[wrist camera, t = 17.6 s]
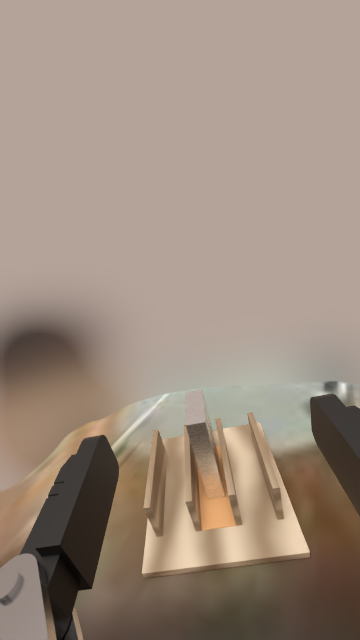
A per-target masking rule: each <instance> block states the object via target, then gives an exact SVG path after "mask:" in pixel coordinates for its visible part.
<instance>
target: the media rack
mask: <svg viewBox="0 0 360 640" xmlns="http://www.w3.org/2000/svg"><path fill="white" fill-rule="evenodd" d="M247 414H248V419H249V424H248V425H242V426H236V427H231V428H225V429H223V428H222V424H221V419H220V418H219V419H215V420H216V426H217V430H214V431H213V435H214V439H215V443H216V447H217V451H218V455H219V459H220V465H221V472H222V479H223V486H224V493H225V497H223V498H215V499H208V497H207V494H206V491H205V487H204V484H203V481H202V477H201V474H200V471H199V468H198V464H197V461H196V458H195V454H194V451H193V448H192V445H191V441H190V438H189V435H188V431H187V428H186V425H184V436H180V437H175V438H169V439H163V440H162V439H161V436H160V433H159V431H158V430H153V438H152V446H151V454H150V462H149V470H148V477H147V485H146V493H145V501H144V510H145V513H146V515H147V517H148V523H147V532H146V541H145V550H144V559H143V569H142V575H143V577H144V578H150V577H158V576H166V575H174V574H182V573H190V572H198V571H206V570H214V569H221V568H229V567H237V566H245V565H253V564H261V563H269V562H277V561H285V560H293V559H301V558H308V557H310V552H309V549H308V546H307V544H306V541H305V539H304V536H303V533H302V531H301V528H300V526H299V523H298V520H297V518H296V515H295V513H294V510H293V507H292V505H291V502H290V500H289V497H288V494H287V492H286V489H285V487H284V484H283V481H282V479H281V476H280V474H279V471H278V468H277V466H276V463H275V460H274V458H273V455H272V453H271V450H270V447H269V445H268V442H267V440H266V437H265V434H264V432H263V429H262V427H261V424H260V422H259V423H256V421H255V418H254V415H253V413H247Z"/></svg>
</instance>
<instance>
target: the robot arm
mask: <svg viewBox="0 0 360 640" xmlns="http://www.w3.org/2000/svg"><path fill="white" fill-rule="evenodd" d="M310 407H311V426H312V432H313V436H314V438H315V441H316V443H317V445H318V447H319V449H320V450H321V452H322V454H323V455H324V457H325V459H326V460H327V462H328V464H329V465H330V467H331V469H332V470H333V472H334V474H335V475H336V477H337V479H338V480H339V482H340V484H341V485H342V487H343V489H344V490H345V492H346V494H347V495H348V497H349V499H350V500H351V502H352V504H353V505H354V507H355V509H356V511H357V512H358V514H359V516H360V409H359V408H358V407H356V406H349V407H345V405H344V404H343V403H342V402H341V401H340V400H339V398H338V397H337V396H336V395H334V394H327V395H322V396H316V397H311V399H310ZM118 476H119V466H118V462H117V459H116V457H115V455H114V453H113V451H112V448H111V446H110V444H109V442H108V440H107V438H106V436H104V435H100V436H95V437H89V438H85V439H83V441H82V442H81V445H80V447H79V449H78V451H77V454H75V455H71V457H70V458H69V459H68V460H67V462H66V463H65V464H64V465H63V466H62V468H61V469H60V471H59V474H58V476H57V478H56V480H55V482H54V486H52V488H51V490H50V492H49V495H48V498H47V499H46V501H45V503H44V505H43V507H42V509H41V511H40V513H39V516H38V518H37V520H36V522H35V524H34V526H33V528H32V530H31V532H30V535H29V537H28V539H27V541H26V543H25V545H24V547H23V549H22V551H21V553H20V554H19V555H18V556H16V557H14V558H13V559H11V560H10V561H8V562H7V563H6V564H5V565H4V566H3V567H2V568H1V569H0V640H83V636H82V632H81V628H80V623H79V619H78V615H77V611H76V608H75V606H74V604H75V600H76V597H77V593H78V591H79V590H87V589H92V586H93V582H94V578H95V573H96V569H97V565H98V561H99V557H100V552H101V548H102V544H103V540H104V536H105V531H106V527H107V523H108V519H109V515H110V511H111V506H112V502H113V498H114V494H115V490H116V485H117V481H118Z"/></svg>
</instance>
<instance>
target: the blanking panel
mask: <svg viewBox="0 0 360 640" xmlns="http://www.w3.org/2000/svg"><path fill="white" fill-rule="evenodd" d="M186 428H187V431H188V435H189V438H190V441H191V445H192V448H193V451H194V454H195V458H196V461H197V464H198V468H199V471H200V474H201V477H202V481H203V484H204V487H205V491H206V494H207V497H208V499H215V498H223V497H225V493H224V486H223V479H222V472H221V465H220V459H219V455H218V451H217V447H216V443H215V439H214V435H213V431H212V427H211V423H210V419H209V415H208V411H207V407H206V403H205V399H204V395H203V391H202V390H198V391H193V392H188V393H186Z"/></svg>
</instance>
